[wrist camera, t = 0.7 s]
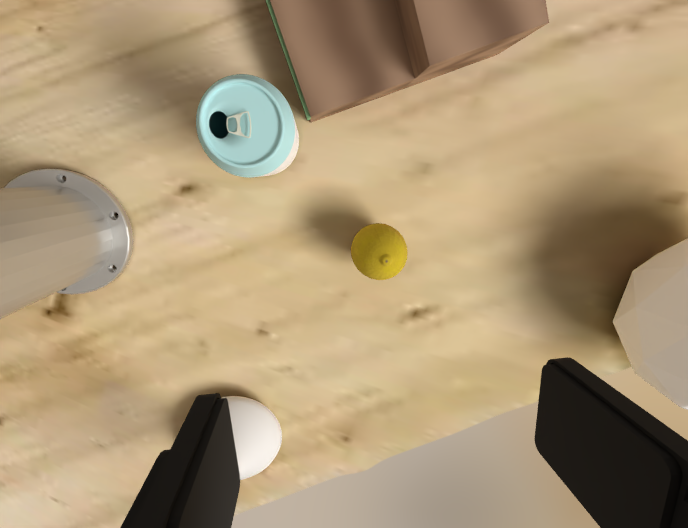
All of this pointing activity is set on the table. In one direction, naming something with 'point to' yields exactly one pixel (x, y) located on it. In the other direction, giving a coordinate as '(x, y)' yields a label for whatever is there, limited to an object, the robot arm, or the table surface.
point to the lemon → (379, 251)
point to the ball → (658, 322)
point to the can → (247, 126)
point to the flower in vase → (253, 434)
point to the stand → (390, 43)
